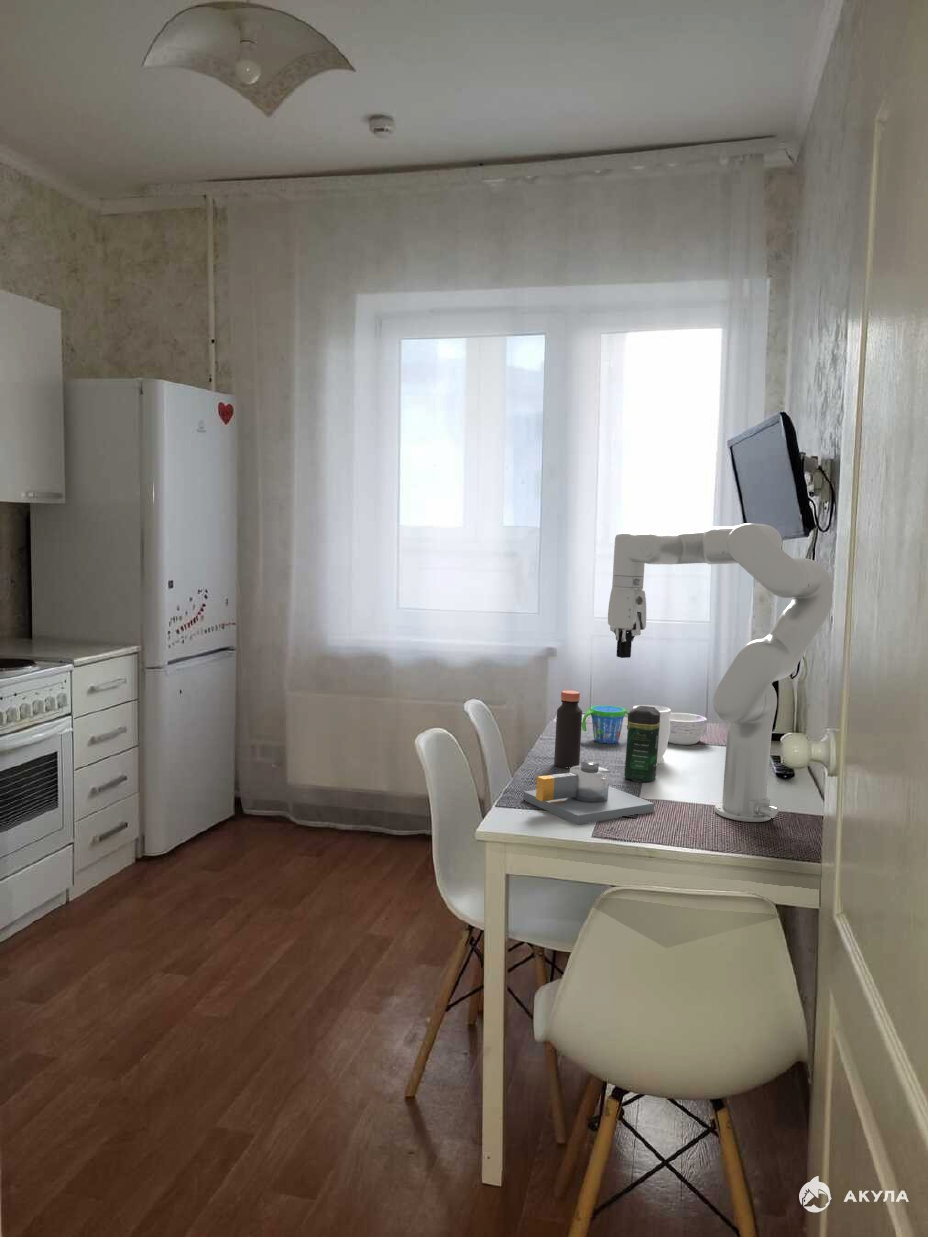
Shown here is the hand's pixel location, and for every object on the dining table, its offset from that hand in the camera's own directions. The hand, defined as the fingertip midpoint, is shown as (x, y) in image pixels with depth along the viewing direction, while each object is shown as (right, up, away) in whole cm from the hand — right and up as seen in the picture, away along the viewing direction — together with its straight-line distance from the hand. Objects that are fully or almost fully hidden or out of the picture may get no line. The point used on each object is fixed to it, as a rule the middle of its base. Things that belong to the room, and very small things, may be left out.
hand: (623, 657), depth 231 cm
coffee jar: (+6, -32, +10) cm, 34 cm away
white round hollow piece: (+27, -29, +56) cm, 68 cm away
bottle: (-12, -30, +20) cm, 38 cm away
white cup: (+12, -30, +29) cm, 44 cm away
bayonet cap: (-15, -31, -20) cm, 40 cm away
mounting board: (-11, -33, -17) cm, 39 cm away
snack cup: (+4, -28, +52) cm, 59 cm away
